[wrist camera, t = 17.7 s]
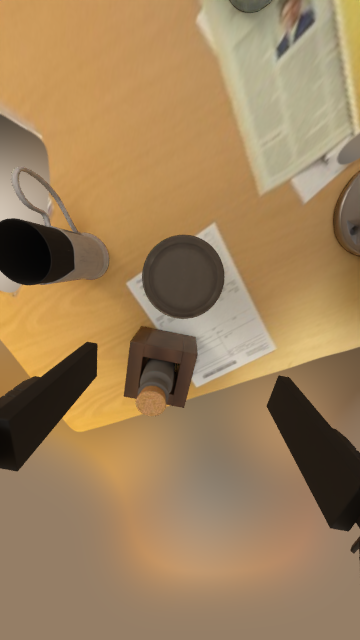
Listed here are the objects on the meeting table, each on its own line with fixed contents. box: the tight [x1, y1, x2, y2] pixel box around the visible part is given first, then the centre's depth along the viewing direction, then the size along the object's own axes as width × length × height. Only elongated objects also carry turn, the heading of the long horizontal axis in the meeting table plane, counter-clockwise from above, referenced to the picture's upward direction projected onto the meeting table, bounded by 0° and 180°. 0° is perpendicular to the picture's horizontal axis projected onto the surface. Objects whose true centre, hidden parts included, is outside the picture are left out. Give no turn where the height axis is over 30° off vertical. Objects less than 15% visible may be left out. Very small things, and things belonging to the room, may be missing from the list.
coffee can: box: [142, 235, 224, 319], centre depth 29 cm, size 10×10×14 cm
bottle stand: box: [124, 326, 197, 408], centre depth 38 cm, size 12×12×8 cm
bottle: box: [136, 358, 175, 416], centre depth 35 cm, size 6×6×15 cm
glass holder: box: [0, 167, 109, 285], centre depth 28 cm, size 9×14×15 cm, turn 178°
